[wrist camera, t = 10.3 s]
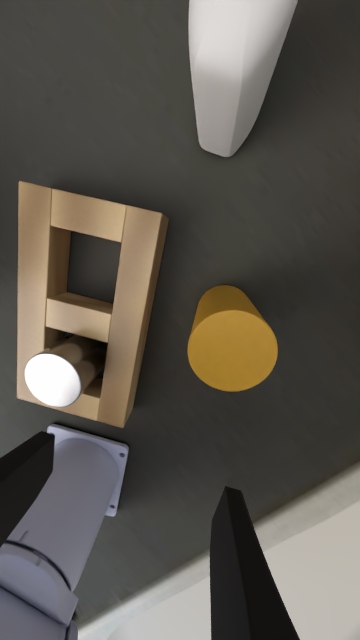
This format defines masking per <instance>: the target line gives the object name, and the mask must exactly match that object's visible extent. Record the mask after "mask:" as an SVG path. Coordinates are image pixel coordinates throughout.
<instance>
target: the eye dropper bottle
mask: <svg viewBox="0 0 360 640" xmlns="http://www.w3.org/2000/svg"><path fill="white" fill-rule="evenodd" d="M297 2H298V0H190V1H189V55H190V66H191V76H192V86H193V95H194V104H195V113H196V121H197V130H198V138H199V143H200V146H201V147H202V148H203V149H204V150H206V151H208V152H211V153H214V154H217V155H220V156H223V157H230V156H232V155H233V154H234V153H235V152H236V151H237V150H238V149H239V147H240V146H241V145H242V143H243V142H244V141H245V139H246V138H247V136H248V134H249V133H250V131H251V129H252V127H253V125H254V123H255V121H256V119H257V117H258V114H259V111H260V109H261V106H262V103H263V100H264V97H265V94H266V92H267V89H268V86H269V83H270V80H271V77H272V74H273V71H274V68H275V66H276V63H277V60H278V57H279V54H280V51H281V48H282V45H283V42H284V40H285V37H286V34H287V31H288V28H289V25H290V22H291V19H292V16H293V13H294V11H295V8H296V5H297Z"/></svg>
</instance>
